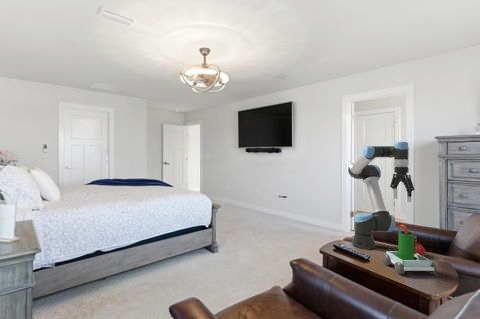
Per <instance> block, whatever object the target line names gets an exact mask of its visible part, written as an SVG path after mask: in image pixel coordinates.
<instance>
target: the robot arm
mask: <svg viewBox="0 0 480 319" xmlns="http://www.w3.org/2000/svg"><path fill="white" fill-rule="evenodd" d="M409 151H410V149H409V142H408V141H395V142H394V143H393V145H384V146H383V145H380V146H379V145H378V146H377V145H367V146H364V147H363V149H362V155H361V156H359V157H358V159H357V160H356V161H355V162H353V163H351V164H349V166H348V168H347V171H348V174H349V175H350V177H352V178H353V179H356V180H362V182H363V183H364V184H366V188H367V192H368V198H369V200H370V204H371V207H372V209H371V210H372V213H371V212H359V213H357V214H355V215H354V235H353V238H352V240H351V241H352V242H351V245H352V246H353V247H355V248H358V249H362V250H374V249H375V248H376V243H375V240H374V237H373V232H375V233H378V232H379V233H380V232H381V233H389V232H390V233H391V232H393V231H394V230H395V228H396V218H395V216H394V215H391V214H390V212H389V211H388V210H387V209H386V206H385V202H384V199H383V195H382V192H381V191H382V190H381V187H380V184H379V181H380V178H381V177H382V174H381V173H382V171H381V168H380V167H379V166H378V165H377V164H370V163H371V162H373V161H374V160H375V159H376V158H394V161H393V162H394V169H393V170H394V173H393V174H392V178H391V182H390V185H389V187H390V188H391V189H392V192H391V193H392V200H398V186H399V185H400V183H403V186H404V187H405V202H406V203H412V196H413V195H412V192H413V191H415V187H414V184H413V181H412V176H411V174H408V173H409V171H410V170H409Z"/></svg>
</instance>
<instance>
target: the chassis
mask: <svg viewBox="0 0 480 319" xmlns="http://www.w3.org/2000/svg"><path fill="white" fill-rule="evenodd" d="M385 253H386V254H385ZM385 253H384V254H382V263H383V265H385V266H391V265H392V264H393V265H394V270H395V272H396V273H397V275H404V274H405V273H406V271H409V272H410V271H412V272H413V271H418V272H419V271H422V272H423V271H426V273H427V274H429V275H436V274H437V272H438V268H437V266H436V264H435V263H434V262H433V260H431V259H429V258H427V257H425V256H421V255H419V254H417V253H416V254H414V257H416V258H417V260H402V259H400V258H398V251H397V250H395V251H394V250H393V251H392V250H389V251H388V250H387V251H386V252H385Z"/></svg>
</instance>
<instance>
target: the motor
mask: <svg viewBox="0 0 480 319" xmlns="http://www.w3.org/2000/svg"><path fill="white" fill-rule="evenodd" d="M399 229H400V230H399V231H398V246H397V247H398V258H400V259H402V260H417V258H416V257H414V254H416V241H417V240H418V239H417V237H418V236H416V235H413V232H412V231H409V230H408V227H407V226H406V225H405V224H400V225H399ZM417 242H418V241H417Z"/></svg>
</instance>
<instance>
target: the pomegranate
mask: <svg viewBox="0 0 480 319" xmlns="http://www.w3.org/2000/svg"><path fill="white" fill-rule="evenodd" d="M426 252H427V251H426V249H425V247H424V246H423V245H422V243H420V242H418V241H416V253H417V254H419V255H421V256H423V257H425V255H426Z"/></svg>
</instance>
